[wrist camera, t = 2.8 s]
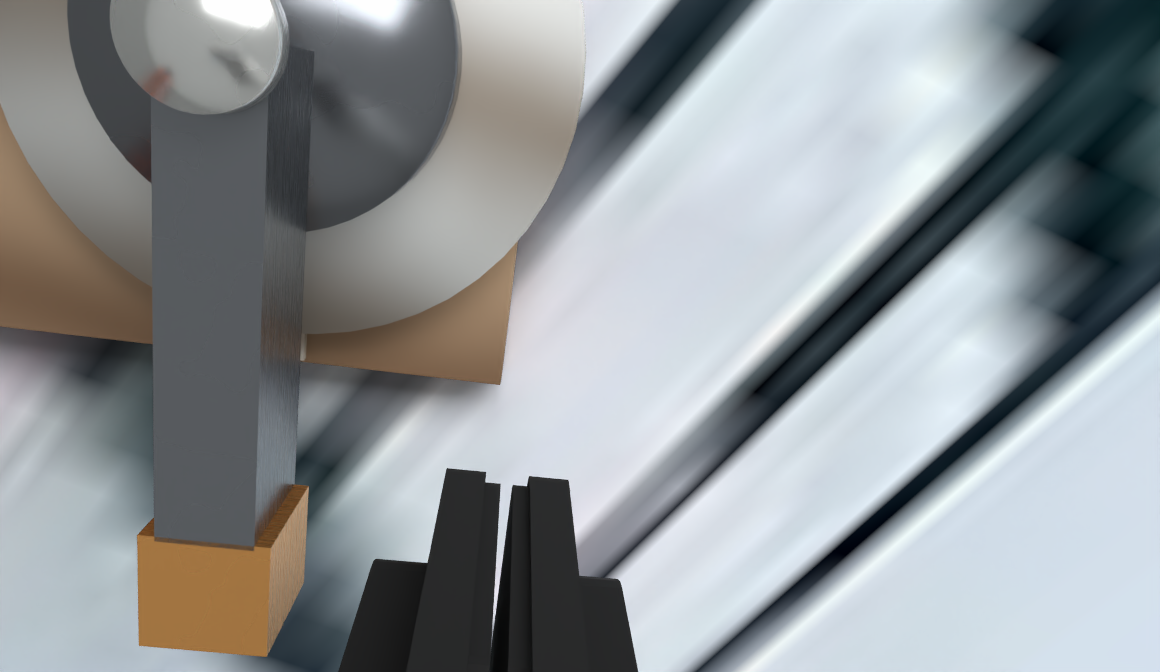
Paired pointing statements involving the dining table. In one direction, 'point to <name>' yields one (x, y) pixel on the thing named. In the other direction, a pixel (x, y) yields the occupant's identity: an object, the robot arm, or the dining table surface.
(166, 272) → the grey lever handle
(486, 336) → the board
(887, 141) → the dining table surface
